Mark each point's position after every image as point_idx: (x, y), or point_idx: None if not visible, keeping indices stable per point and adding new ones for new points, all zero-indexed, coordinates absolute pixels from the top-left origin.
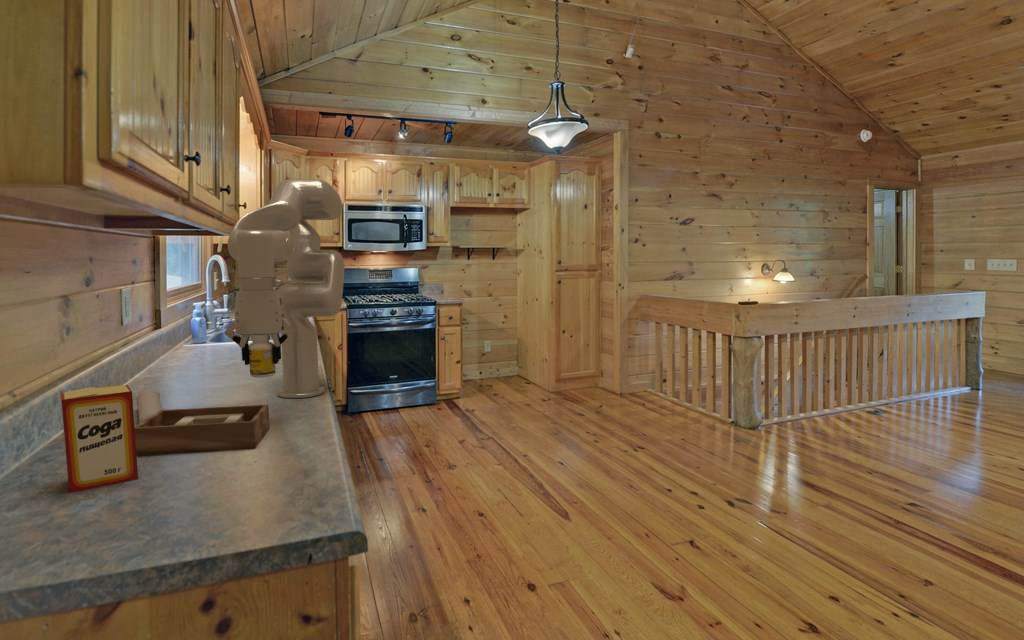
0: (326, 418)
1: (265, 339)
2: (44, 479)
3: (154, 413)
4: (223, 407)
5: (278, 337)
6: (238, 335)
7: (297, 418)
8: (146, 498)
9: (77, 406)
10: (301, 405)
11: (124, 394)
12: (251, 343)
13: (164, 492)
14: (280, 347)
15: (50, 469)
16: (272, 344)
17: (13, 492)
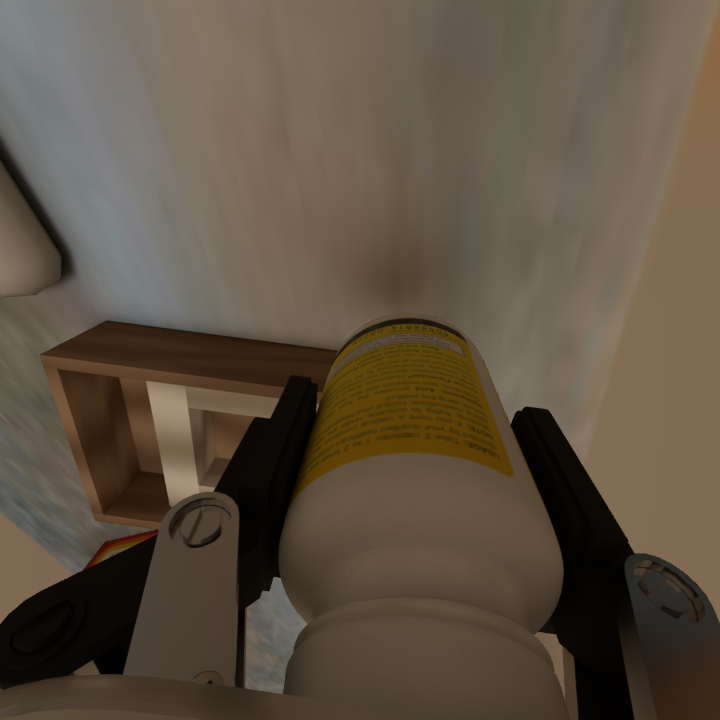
0: (622, 301)
1: None
2: (58, 524)
3: (2, 286)
4: (259, 390)
5: (700, 698)
6: (42, 675)
7: (518, 263)
8: (262, 622)
9: None
10: None
11: None
12: (302, 600)
13: (278, 615)
14: (623, 558)
15: (25, 485)
16: (546, 617)
17: (57, 555)
